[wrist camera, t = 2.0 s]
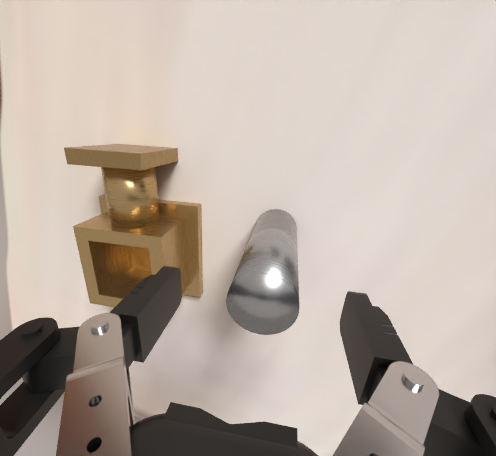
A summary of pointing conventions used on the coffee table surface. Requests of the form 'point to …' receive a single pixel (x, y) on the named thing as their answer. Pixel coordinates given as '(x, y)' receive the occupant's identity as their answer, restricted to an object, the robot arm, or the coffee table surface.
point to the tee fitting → (135, 224)
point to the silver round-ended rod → (267, 277)
